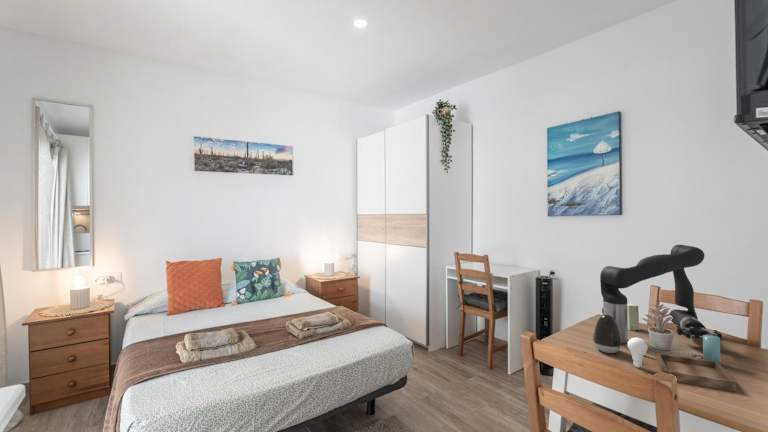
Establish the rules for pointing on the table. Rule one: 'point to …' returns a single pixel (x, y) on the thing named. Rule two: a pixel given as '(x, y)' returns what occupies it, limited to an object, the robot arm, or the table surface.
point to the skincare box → (633, 316)
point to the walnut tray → (696, 371)
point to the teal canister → (711, 348)
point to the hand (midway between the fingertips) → (703, 338)
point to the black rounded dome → (607, 335)
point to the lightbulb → (637, 350)
